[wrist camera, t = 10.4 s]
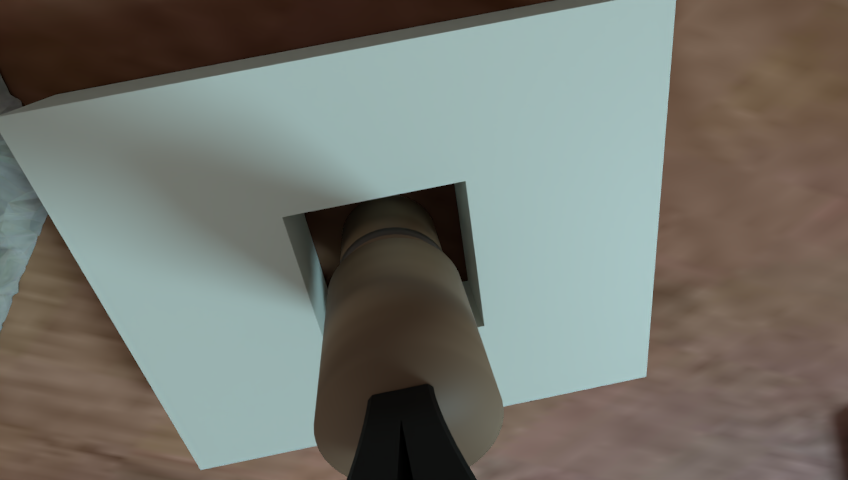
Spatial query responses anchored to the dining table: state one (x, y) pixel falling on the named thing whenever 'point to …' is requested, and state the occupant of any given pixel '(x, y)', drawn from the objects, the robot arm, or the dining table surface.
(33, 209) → the pale grey lumpy mound
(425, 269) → the walnut peg
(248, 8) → the dining table surface
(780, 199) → the dining table surface
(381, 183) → the sage board
